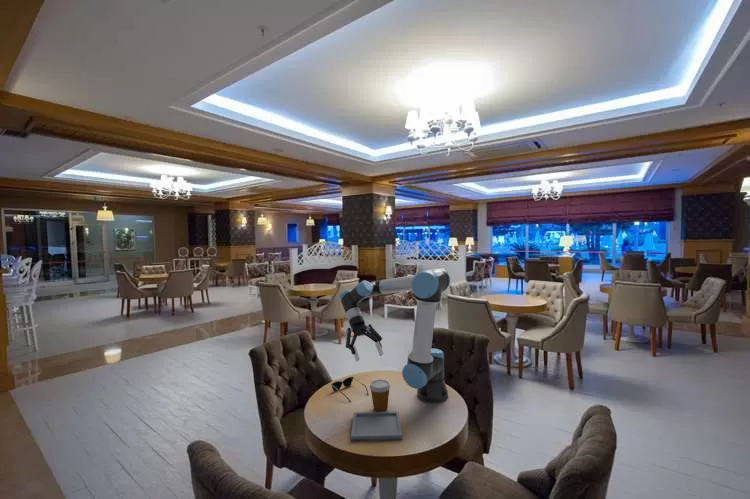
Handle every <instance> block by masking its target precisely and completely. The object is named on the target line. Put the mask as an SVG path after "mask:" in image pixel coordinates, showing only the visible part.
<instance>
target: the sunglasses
mask: <svg viewBox="0 0 750 499" xmlns="http://www.w3.org/2000/svg"><path fill="white" fill-rule="evenodd" d="M353 380H355V381H357V382H358V383H359V384H361V385H362V386H364V388H365V389H366V395H367V396H369V395H370V394H369V391H368V388H367V386H366V385H365V384H364V383H362V382H360V381H359V380H358V379H357V378H355V377H354V376H349V377H346V378H344V380H343V381H339V380H337V381H334V382H332V383H331V384H330V386H331V389H332V390H333V391H334V392H335V391H338V392H339V393H340V394H342V395H343V396H344V397H346V399H347V400H348V402H350V403H352V401H351V400H350V399H349V398H348V396H347V395H346V394H345V393H343V392H342V391H341V390H340V389H341V387H342V386H344V387H345V388H348V387H349V386H351V385H352V383H353ZM338 389H339V390H338Z"/></svg>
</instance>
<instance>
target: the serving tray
mask: <svg viewBox="0 0 750 499" xmlns="http://www.w3.org/2000/svg"><path fill="white" fill-rule="evenodd" d="M400 417H401V416H400V411H398V410H397V411H396V410H393V411H385V412H376V411H364V412H363V411H362V412H361V411H360V412H359V411H358V412H353V416H352V426H351V433H350V434H351V435H350V441H351V442H369V441H368V440H379V441H403V434H402V433H403V432H402V425H401V424H402V423H401V418H400Z"/></svg>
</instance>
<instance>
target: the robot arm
mask: <svg viewBox="0 0 750 499" xmlns="http://www.w3.org/2000/svg"><path fill="white" fill-rule="evenodd" d="M450 284H451V278H450V275H449V272H447V271H446V270H445V269H444V268H441V267H434V268H430V269H429V268H428V269H423V270H421V271H419V272H417V273H416V274H413V275H405V276H400V277H393V278H387V279H381V280H380V279H379V280H378V279H376V280H373V281H370V282H369V281H368V280H365V279H364V280H362V281H360V282H359V283H358V284H357V285H355V287H354V288H353V289H346V290H344V291H342V292H341V293H340V294H339V298H340V299H339V300H340V302H341V304H342V305H341V306H342V307H343V308H342V309H343V310H344V313H345V316H346V318H347V321H348V324H349V327H348V328H347V329H346V331H345V332H346V341H345V348H346V349H348V350H350V351H351V352H350V353H351V354H352V355H353V356H354V358H355V359H354V360H355V362H357V363H358V362H359V361H360V359H361V358H360V355H359V353H358V350H357V347H356V345H355V342H356V340H357V338H358V337H360V336H361V337H362V336H365V337H367V338H369V339H370V340H371V341H373V342H374V344H375V347H376V350H377V352H378V355H379V356H380V357H382V356H383V355H384V351H383V349H382V348H383V346H382V343H381V341H382V340H383V337H382V336H381V335H380V333H378V332H377V330H376V329H375V328H374V327H373V326H372V324H371V323H369V324H368V325H366V322H365V320H364V317H363V313H362V311H361V309H360V307H359V304H360V303H361V302H363V300H365V299H367V298H371V297H374V296H380V295H387V294H388V295H389V294H395V293H404V292H413V293H414V299H415V301H416V312H415V320H414V330H413V338H412V347H411V351H410V352H409V353H408V354H407V355H408V356H407V364H405V365H404V366H403V368H402V372H401V375H402V378H403V381H404V382H405V383H406V385H408V386H409V387H411V388H413V389H416V396H417V397H418V398H419V400H421V401H424V402H427V403H443V402H444V401H446V400H447V399H448V397H449V391H448V387H447V384H446V382H445V355H444V354H445V353H444V351H443V350H441V349H439V348H435V347H433V348H432V345H433V336H434V328H435V319H436V312H437V311H436V310H437V305H438V304H439V303H440V302H441V297H442V293H443V292H445V291H447V289H448V288H449V286H450ZM352 333H353V335H352ZM351 337H352V339H351Z"/></svg>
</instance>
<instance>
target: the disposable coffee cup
mask: <svg viewBox="0 0 750 499" xmlns="http://www.w3.org/2000/svg"><path fill="white" fill-rule="evenodd" d="M390 388H391V384H390V381H388V380H386V379H376V380H373V381H371V382H370V385H369V390H370V392H371V400H372V408H373V410H374V411H373V412H387V410H388V408H389V407H388V406H389V396H390Z"/></svg>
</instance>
